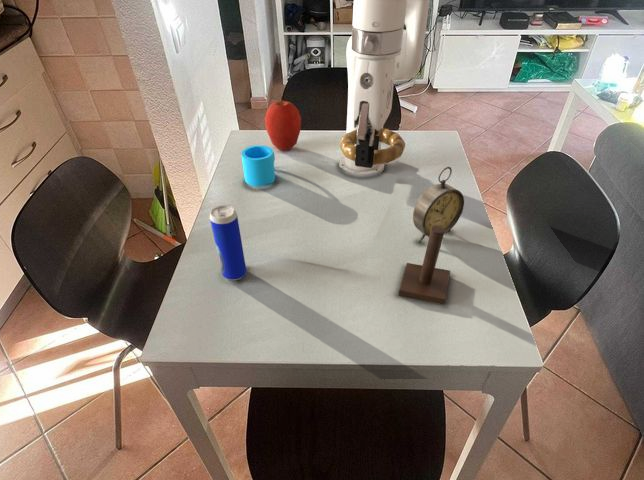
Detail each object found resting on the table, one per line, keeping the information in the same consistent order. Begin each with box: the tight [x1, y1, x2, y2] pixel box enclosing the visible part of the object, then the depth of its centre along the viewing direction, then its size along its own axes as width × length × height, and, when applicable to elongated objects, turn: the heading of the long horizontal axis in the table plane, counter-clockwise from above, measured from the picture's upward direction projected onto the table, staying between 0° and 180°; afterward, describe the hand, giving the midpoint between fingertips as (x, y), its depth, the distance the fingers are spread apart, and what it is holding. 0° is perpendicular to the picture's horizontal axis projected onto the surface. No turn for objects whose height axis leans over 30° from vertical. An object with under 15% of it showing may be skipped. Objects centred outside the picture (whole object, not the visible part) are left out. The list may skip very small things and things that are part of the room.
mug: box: [240, 144, 276, 187], centre depth 113 cm, size 12×8×8 cm
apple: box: [264, 97, 302, 152], centre depth 123 cm, size 10×10×14 cm
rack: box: [397, 226, 451, 306], centre depth 82 cm, size 9×9×14 cm
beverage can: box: [209, 204, 247, 282], centre depth 85 cm, size 5×5×15 cm
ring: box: [339, 127, 406, 165], centre depth 80 cm, size 12×12×2 cm
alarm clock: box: [412, 166, 465, 244], centre depth 92 cm, size 11×5×16 cm, turn 117°
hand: (366, 161), depth 77 cm, fingers closed on ring, 2 cm apart
